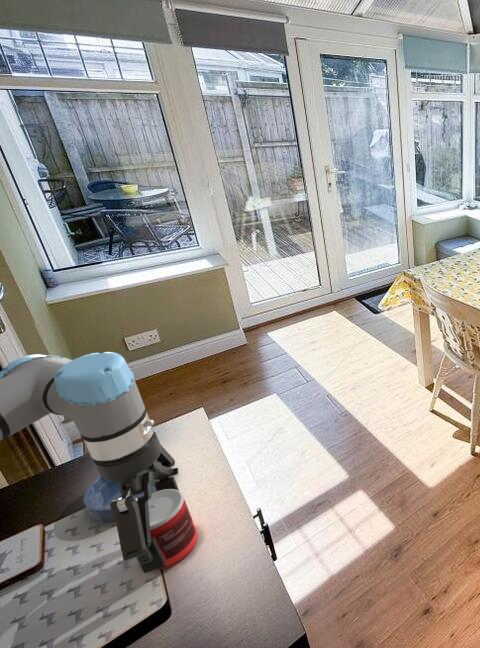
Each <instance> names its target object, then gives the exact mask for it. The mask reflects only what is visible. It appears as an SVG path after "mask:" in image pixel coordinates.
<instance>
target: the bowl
mask: <svg viewBox="0 0 480 648" xmlns="http://www.w3.org/2000/svg"><path fill="white" fill-rule="evenodd" d="M171 469H174V466H171ZM172 477H174V478H175V475H173V476H172ZM157 481H160V480H159V479H158V480H154V479H152V481H151V494H152V493H154V492H157V490H156V488H155V482H157ZM120 496H121V493H120V491H119V490H118V483H117V482H115V481H111V480H107V479H104V478H103V477H102V476H101V475H100V474H99V475H98V476H97V477H95V479H93V480H92V482H91V483H90V484H89V485H88V486H87V488H86V490H85V492H84V494H83V505H84V507H85V508H86V511H87V512H88V514H89V515H90V516H91V518H92V519H94V520H96V521H100V522H112V521H113V522H114V521H116V520H115V516H114V514H113V512H112V509H111V502H112V501H114V500H117V499H119V498H120ZM143 496H144V493H143V494H140V495H136V496H134V497H135V498H139V497H143Z"/></svg>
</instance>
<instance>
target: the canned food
mask: <svg viewBox="0 0 480 648" xmlns="http://www.w3.org/2000/svg"><path fill="white" fill-rule="evenodd" d="M179 491H180V490H179ZM179 491H178V490H174V489H165V490H161V491H157V492H154V493H152V497H151V498H150V499H149V500H148V506H149V520H150V534H151V538H153V537H154V538H155V540H156V542H157V544H158V546H159V548H160V550H161V552H162V555H163V557H164V559H165V561H166V564H165V567H162V568H159V569H158V570H164V569H165V570H166V569H168V568H170V567H173V566H174V565H176V564H179V563H180V562H181V561H183V560H184V559H185V558H186V557H188V556H189V555H190V554H191V552H193V550H194V548H195V547H196V544H197V542H198V537H199V536H198V535H199V534H198V533H199V532H198V530H197V528H196V525H195V522H194V520H193V518H192V515H191V512H190V510H189V508H188V505H187V502H186V500H185V497H184V495H183V493H182V492H181V491H180V492H179Z"/></svg>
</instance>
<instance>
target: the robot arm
mask: <svg viewBox="0 0 480 648" xmlns="http://www.w3.org/2000/svg"><path fill="white" fill-rule="evenodd" d="M50 414H53V415H57V416H62V417H67V418H70V419H71V420H72V421H73V423H74V425H75V427H76V429H77V431H78V433H79V434H80V437H81V438H82V440H83V443H84V445H85V447H86V449H87V450H88V453H89V455H90V457H91V459H92V460H93V463H94V465H95V466H96V469H97V470H98V472H99V475H101V476H102V477H103V478H104V479H107V480H111V481H115V482H117V483H118V490H119V491H120V493H121V496H120V498H119V499H117V500H114V501H112V502H111V509H112V512H113V514H114V516H115V520H114V521H115V524H116V525H115V526H116V530H117V535H118V539H119V546H120V550H121V556H122V560H123V562H127V561H129V560H132V559H137V562H138V563H139V566H140V567H141V569H142V572H143V573H144V574H147V573H150V572H153V571H155V570H160V569H159V568H162V567H165V564H166V561H165V559H164V557H163V555H162V552H161V550H160V548H159V546H158V544H157V542H156V540H155V538H154V537H153V538H151V534H150V520H149V506H148V500H149V499H150V498H151V497H152V494H151V481H152V479H154V480H158V479H159V480H160V481H157V482H155V488H156V490H157V491H161V490H165V489H174V490H178V491H179V492H180V493H181V491H180V489H179V487H178V484H177V482H176V479H175V476H177V475H178V474H179V468H178V467H175V468H174V466H175V465H176V460H175V459H174V458H173V456H172V455H171V454H170V453H169V452H168V451H167V450H166V449H165V448H164V447H163V445H162V444H161V442H160V440H159V438H158V436H157V433H156V431H155V430H154V424H155V421H154V419H150V417H149V414H148V412H147V409H146V407H145V403H144V400H143V398H142V396H141V393H140V391H139V387H138V385H137V382H136V380H135V375H134V372H133V371H132V369H131V368H130V367H129V365H128V363H127V360H126V359H125V358H124V356H122V355H121V354H120V353H117V352H112V351H105V352H102V353H100V352H93V353H89V354H85V355H82V356H80V357H76V358H74V359H70V358H67V357H65V356H61V355H47V354H40V353H39V354H29V355H24V356H22V357H18V358H16V359H14V360H11V362H9V363H8V364H7V365H5V367H4V368H3V369H2V370H1V371H0V442H2V441H3V440H5V439H7V438H9V437H11V436H13V435H14V434H16V433H18V432H20V431H21V430H23V429H25V428H26V427H29V426H30V425H32V424H34V423H36V422H37V421H39V420H41V419H42V418H45V417H46V416H48V415H50ZM171 466H173V469H171ZM173 475H174V477H172V476H173ZM143 493H144V496H143V497H139V498H135V497H134V496H136V495H140V494H143Z"/></svg>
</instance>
